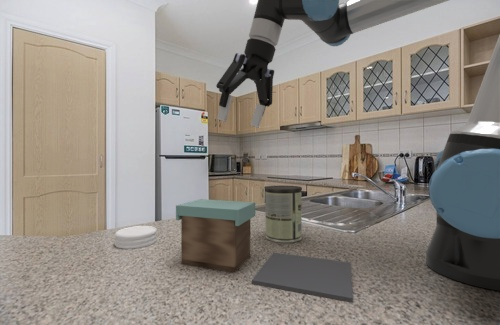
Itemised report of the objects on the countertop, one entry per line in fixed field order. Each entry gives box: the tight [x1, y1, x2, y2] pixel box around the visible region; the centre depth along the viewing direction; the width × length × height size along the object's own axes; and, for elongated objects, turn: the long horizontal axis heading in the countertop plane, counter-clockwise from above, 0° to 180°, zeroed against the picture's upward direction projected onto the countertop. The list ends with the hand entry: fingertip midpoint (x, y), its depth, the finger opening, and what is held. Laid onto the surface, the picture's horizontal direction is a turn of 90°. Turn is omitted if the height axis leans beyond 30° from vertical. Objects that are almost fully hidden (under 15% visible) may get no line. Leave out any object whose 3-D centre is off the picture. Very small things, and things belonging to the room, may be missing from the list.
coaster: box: [114, 225, 158, 250], centre depth 64 cm, size 10×10×4 cm
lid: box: [175, 198, 256, 226], centre depth 52 cm, size 14×10×3 cm
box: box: [180, 216, 251, 273], centre depth 52 cm, size 12×8×10 cm
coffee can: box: [264, 185, 303, 244], centre depth 68 cm, size 10×10×14 cm
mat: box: [251, 252, 354, 303], centre depth 45 cm, size 16×14×1 cm
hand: (239, 123), depth 67 cm, fingers open, 13 cm apart
